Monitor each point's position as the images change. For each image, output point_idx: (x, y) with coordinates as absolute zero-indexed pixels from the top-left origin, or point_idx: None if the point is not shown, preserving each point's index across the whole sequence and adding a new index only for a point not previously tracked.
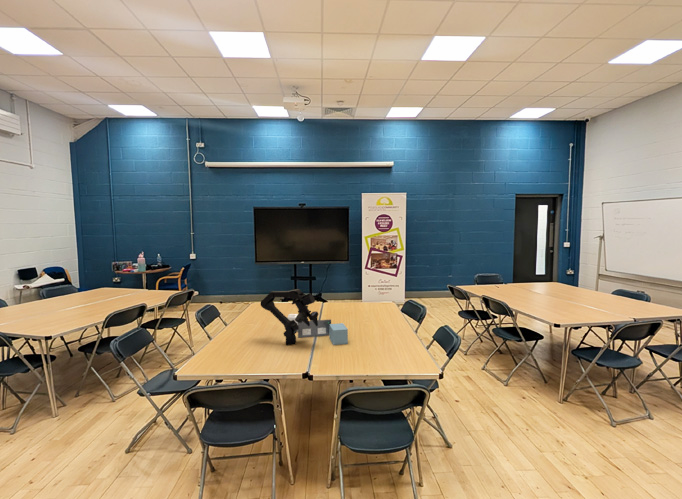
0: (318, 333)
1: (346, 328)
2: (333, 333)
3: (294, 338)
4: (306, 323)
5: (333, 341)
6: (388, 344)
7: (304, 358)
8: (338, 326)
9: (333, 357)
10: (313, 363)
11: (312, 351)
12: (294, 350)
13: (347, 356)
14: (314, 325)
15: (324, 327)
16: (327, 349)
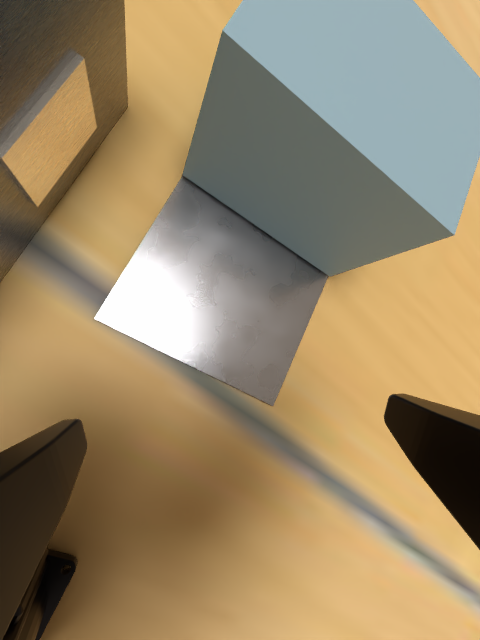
0: (40, 195)
1: (476, 80)
2: (417, 244)
3: (24, 621)
4: (31, 573)
5: (351, 267)
6: (470, 46)
7: (376, 579)
8: (385, 62)
9: (448, 399)
10: (451, 549)
11: (316, 470)
12: (208, 612)
13: (472, 326)
14: None
15: (64, 67)
16: (348, 353)
